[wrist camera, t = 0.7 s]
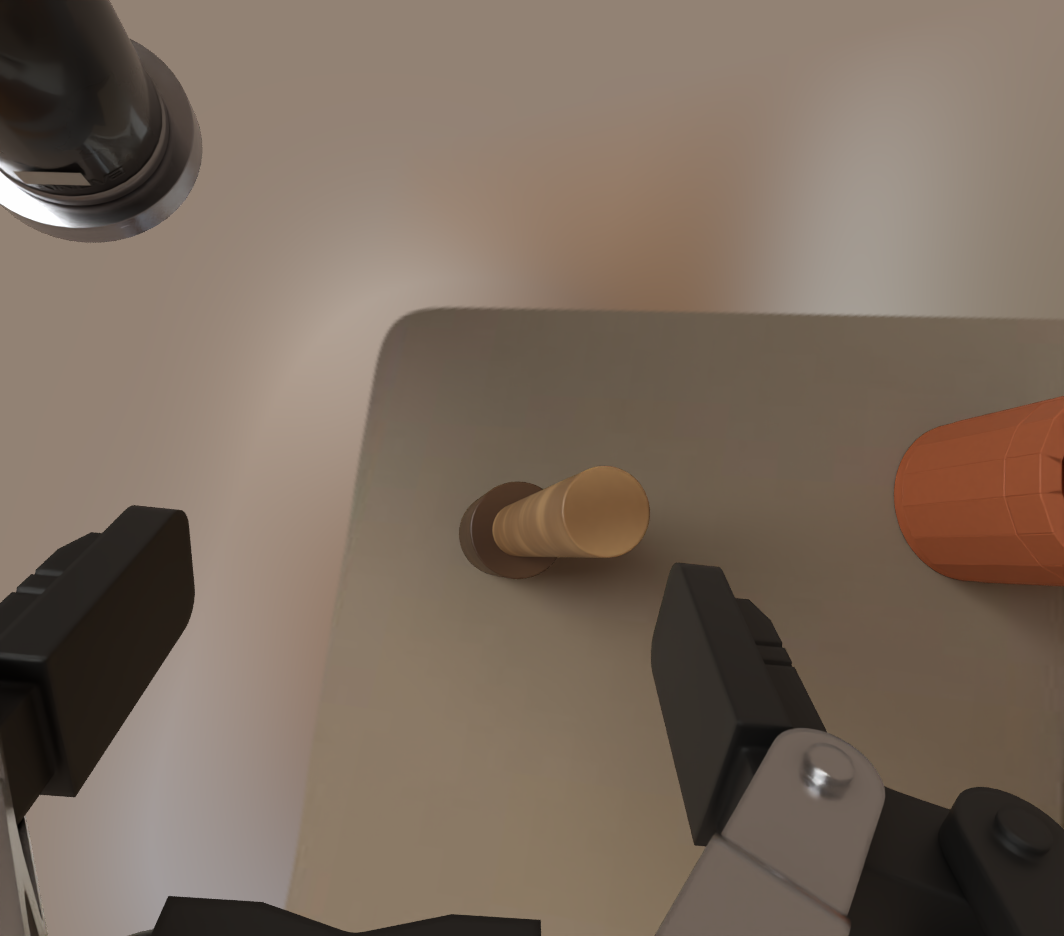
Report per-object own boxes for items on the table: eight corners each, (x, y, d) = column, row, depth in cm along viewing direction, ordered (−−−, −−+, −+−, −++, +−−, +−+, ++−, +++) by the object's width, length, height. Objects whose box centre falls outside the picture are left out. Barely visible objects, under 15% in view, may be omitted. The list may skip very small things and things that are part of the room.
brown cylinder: (449, 505, 38) (503, 451, 18) (527, 483, 39) (659, 410, 19) (471, 585, 37) (551, 619, 18) (550, 561, 38) (707, 568, 19)
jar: (873, 446, 43) (1013, 413, 33) (1001, 407, 45) (1170, 366, 35) (922, 601, 42) (1081, 614, 32) (1051, 555, 44) (1236, 555, 34)
